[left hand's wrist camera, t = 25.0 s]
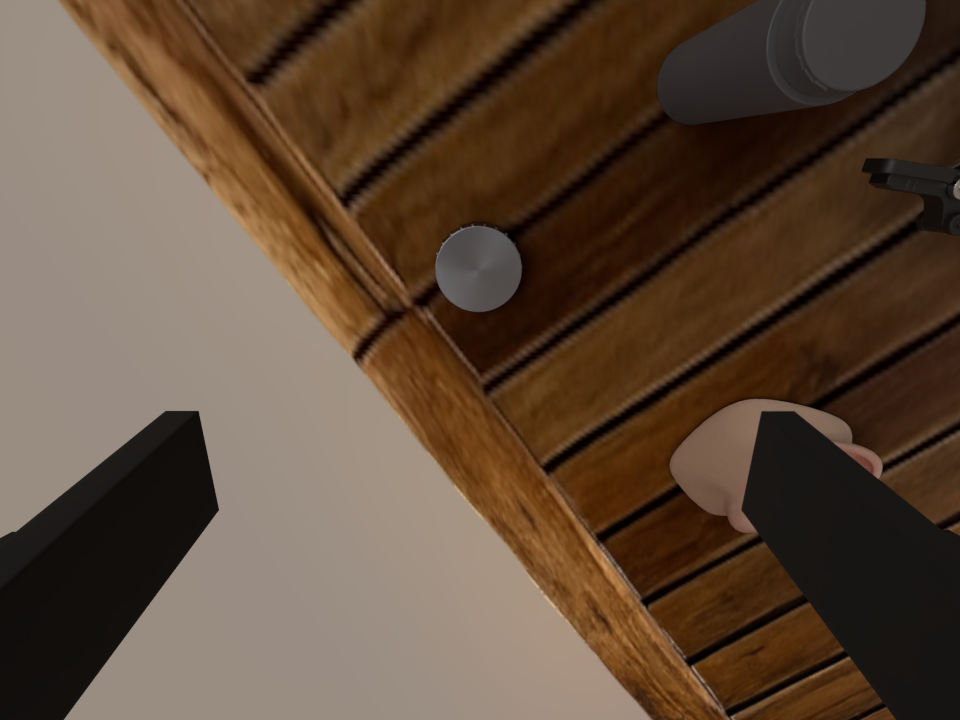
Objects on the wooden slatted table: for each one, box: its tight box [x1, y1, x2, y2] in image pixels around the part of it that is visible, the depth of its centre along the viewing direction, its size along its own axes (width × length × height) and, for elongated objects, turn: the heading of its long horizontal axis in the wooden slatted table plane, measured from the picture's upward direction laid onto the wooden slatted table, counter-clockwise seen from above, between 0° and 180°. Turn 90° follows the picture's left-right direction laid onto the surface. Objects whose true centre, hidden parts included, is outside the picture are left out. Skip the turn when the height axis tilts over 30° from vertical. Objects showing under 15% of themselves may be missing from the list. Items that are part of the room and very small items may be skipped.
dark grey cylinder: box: [657, 0, 926, 125], centre depth 26 cm, size 5×5×16 cm
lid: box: [435, 221, 523, 312], centre depth 37 cm, size 6×6×2 cm
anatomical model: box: [670, 399, 882, 533], centre depth 41 cm, size 13×4×12 cm
